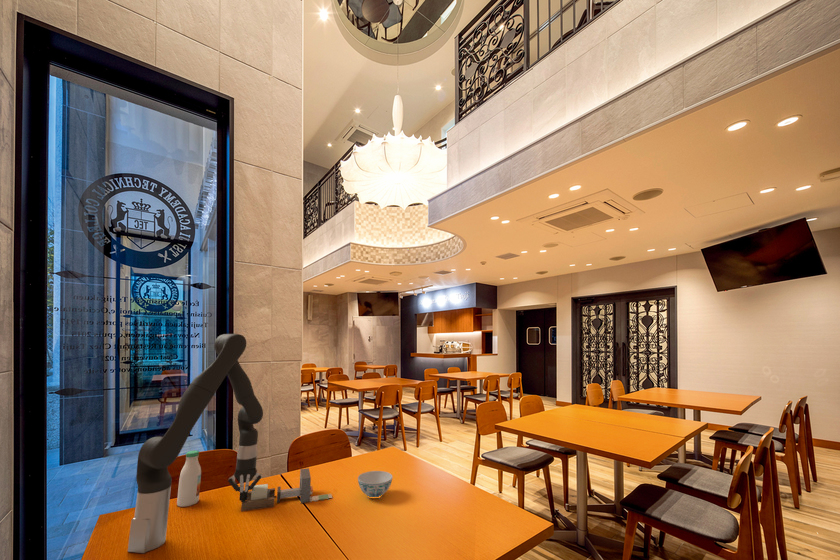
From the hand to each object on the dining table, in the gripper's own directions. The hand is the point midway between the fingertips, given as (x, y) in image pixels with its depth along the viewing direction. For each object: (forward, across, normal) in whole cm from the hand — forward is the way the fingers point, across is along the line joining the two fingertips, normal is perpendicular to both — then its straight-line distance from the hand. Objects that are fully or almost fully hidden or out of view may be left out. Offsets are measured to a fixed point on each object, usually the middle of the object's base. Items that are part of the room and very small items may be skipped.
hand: (243, 501), depth 150 cm
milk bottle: (+2, -21, +10) cm, 24 cm away
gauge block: (+2, +6, 0) cm, 6 cm away
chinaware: (+1, +52, -10) cm, 53 cm away
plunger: (+1, +20, -1) cm, 20 cm away
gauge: (+1, +17, 0) cm, 18 cm away
